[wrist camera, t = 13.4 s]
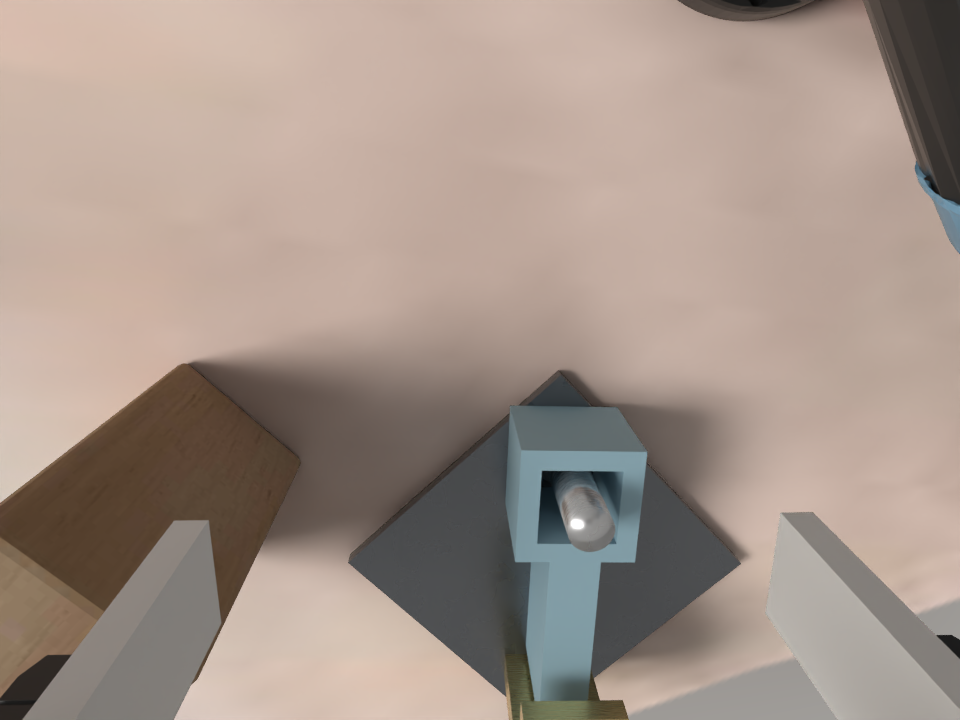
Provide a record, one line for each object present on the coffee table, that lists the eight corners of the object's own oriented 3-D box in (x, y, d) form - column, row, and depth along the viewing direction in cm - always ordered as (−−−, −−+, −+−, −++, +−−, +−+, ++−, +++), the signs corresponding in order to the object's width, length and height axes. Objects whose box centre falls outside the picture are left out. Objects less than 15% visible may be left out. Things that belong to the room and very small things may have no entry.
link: (510, 405, 44) (521, 450, 37) (617, 407, 44) (647, 451, 37) (498, 645, 49) (506, 722, 42) (594, 645, 49) (617, 721, 43)
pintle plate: (558, 370, 44) (594, 439, 33) (735, 555, 49) (817, 669, 38) (350, 554, 47) (321, 672, 37) (534, 712, 52) (557, 858, 41)
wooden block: (305, 459, 45) (201, 680, 26) (208, 553, 47) (43, 825, 28) (186, 358, 43) (-24, 519, 24) (88, 460, 45) (-182, 688, 25)
